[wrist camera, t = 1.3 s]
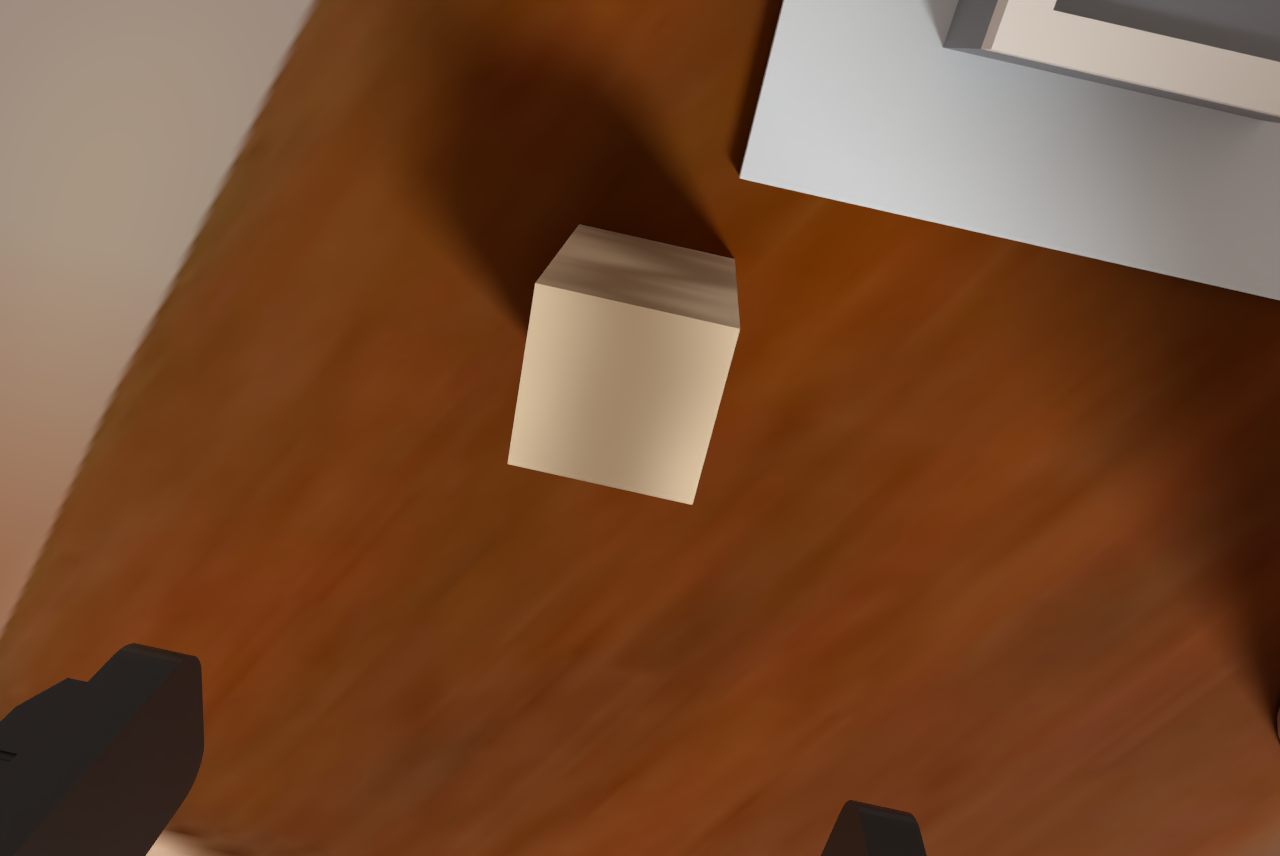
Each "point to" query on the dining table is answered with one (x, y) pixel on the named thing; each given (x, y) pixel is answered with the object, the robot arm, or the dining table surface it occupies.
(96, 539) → the dining table surface
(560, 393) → the maple block
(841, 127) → the square block holder
